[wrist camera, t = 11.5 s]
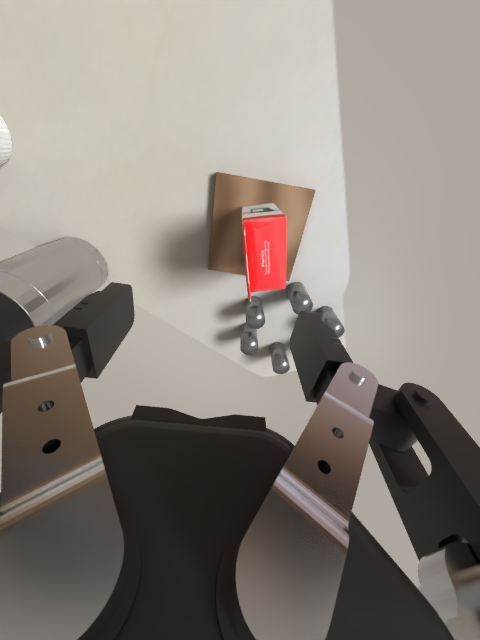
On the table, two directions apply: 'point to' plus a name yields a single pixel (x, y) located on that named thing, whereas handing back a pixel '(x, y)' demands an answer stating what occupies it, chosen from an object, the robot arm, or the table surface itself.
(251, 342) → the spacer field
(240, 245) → the walnut board
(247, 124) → the table surface
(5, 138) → the ramekin
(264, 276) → the ink box
